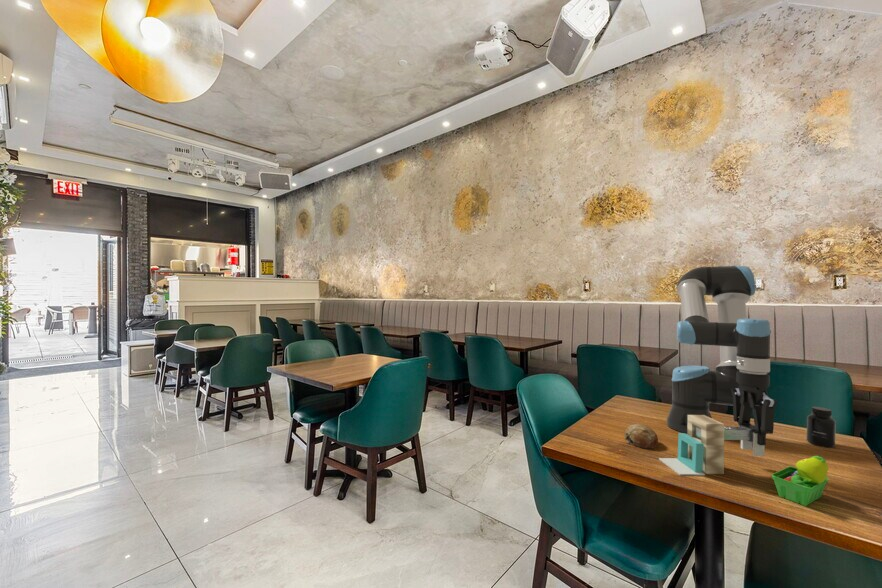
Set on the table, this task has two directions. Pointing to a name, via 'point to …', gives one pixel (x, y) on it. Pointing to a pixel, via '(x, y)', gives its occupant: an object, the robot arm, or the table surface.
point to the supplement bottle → (821, 427)
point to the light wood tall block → (708, 442)
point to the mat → (680, 467)
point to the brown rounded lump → (641, 436)
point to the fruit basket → (802, 480)
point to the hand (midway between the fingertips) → (752, 451)
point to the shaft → (735, 433)
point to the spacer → (697, 452)
